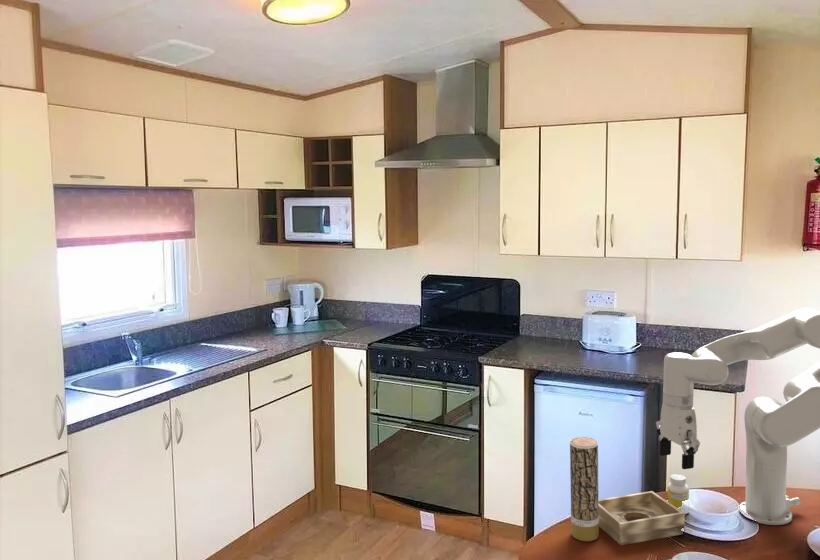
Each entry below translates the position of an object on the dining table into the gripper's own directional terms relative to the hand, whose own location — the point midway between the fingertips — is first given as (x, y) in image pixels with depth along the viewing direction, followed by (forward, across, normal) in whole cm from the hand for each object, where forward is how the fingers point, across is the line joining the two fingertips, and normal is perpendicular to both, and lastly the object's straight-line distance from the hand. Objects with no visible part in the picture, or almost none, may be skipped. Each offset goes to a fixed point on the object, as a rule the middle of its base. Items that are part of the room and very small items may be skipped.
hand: (676, 461), depth 185 cm
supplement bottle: (+14, 0, -1) cm, 14 cm away
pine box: (+14, -4, +14) cm, 21 cm away
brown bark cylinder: (+15, -4, +29) cm, 33 cm away
